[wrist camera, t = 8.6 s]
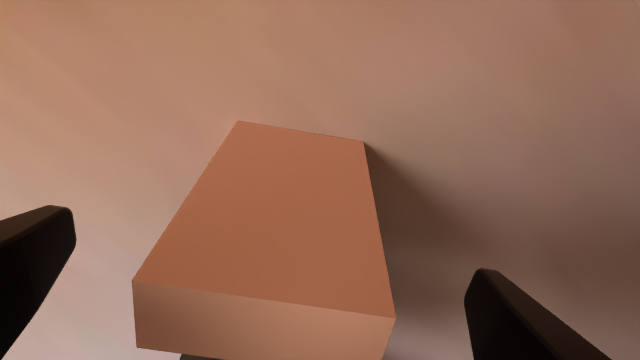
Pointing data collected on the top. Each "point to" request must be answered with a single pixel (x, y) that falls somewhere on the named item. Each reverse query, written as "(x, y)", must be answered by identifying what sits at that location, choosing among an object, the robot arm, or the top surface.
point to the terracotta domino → (271, 256)
